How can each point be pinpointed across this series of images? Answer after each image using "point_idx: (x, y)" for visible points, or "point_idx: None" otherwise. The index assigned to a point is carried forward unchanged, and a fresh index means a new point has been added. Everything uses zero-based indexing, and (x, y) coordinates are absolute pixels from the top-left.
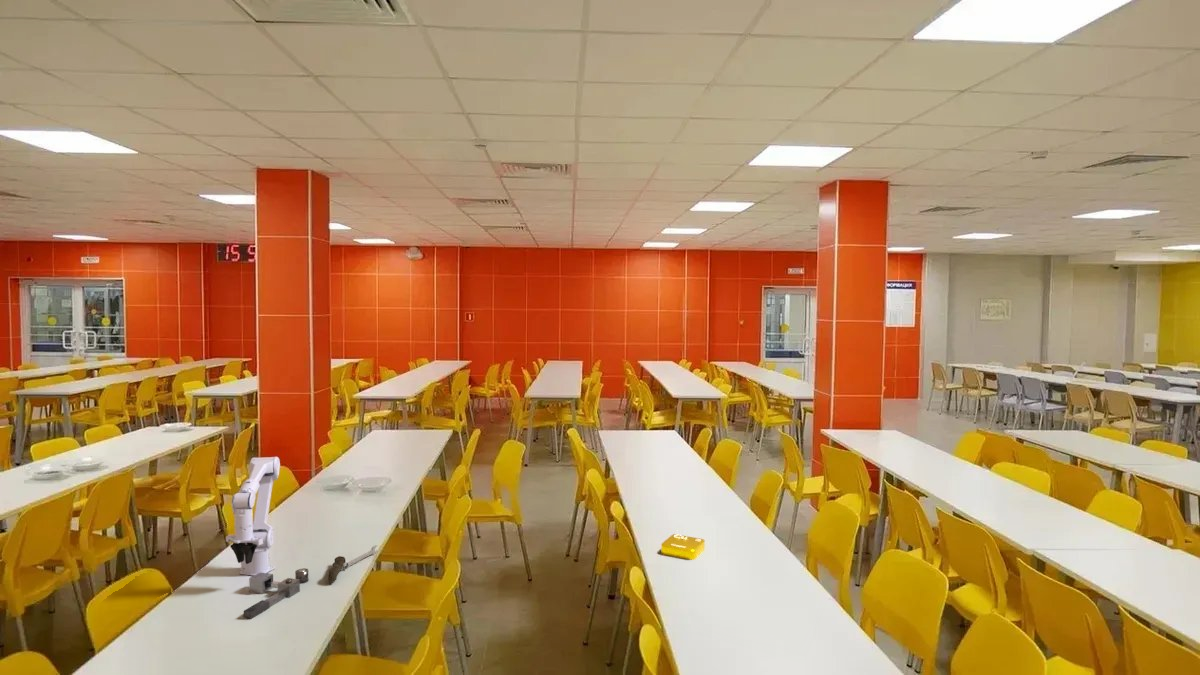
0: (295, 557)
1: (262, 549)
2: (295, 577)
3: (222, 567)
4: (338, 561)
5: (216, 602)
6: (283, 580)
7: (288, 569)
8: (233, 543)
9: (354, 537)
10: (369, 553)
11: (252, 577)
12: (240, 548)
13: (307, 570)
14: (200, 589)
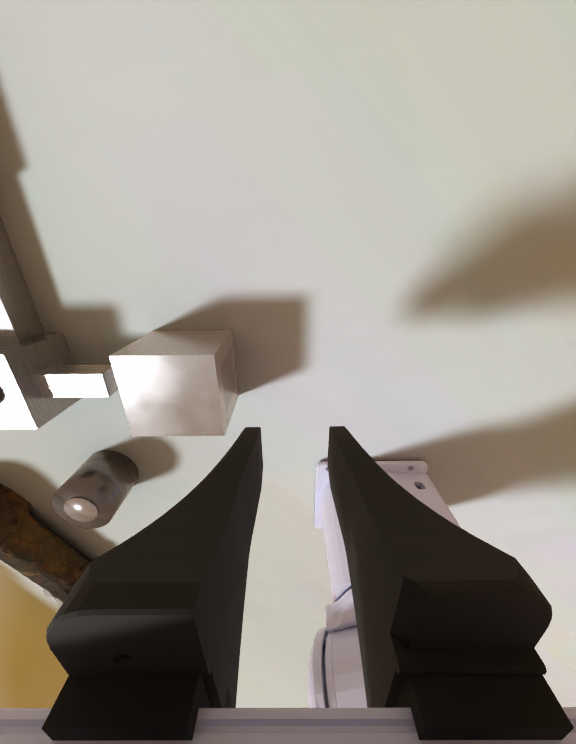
0: (315, 593)
1: (343, 608)
2: (113, 472)
3: (543, 489)
4: (55, 596)
5: (302, 160)
6: (23, 398)
7: (259, 529)
8: (527, 662)
9: (250, 693)
10: None
11: (204, 368)
12: (364, 571)
13: (61, 516)
14: (515, 284)
